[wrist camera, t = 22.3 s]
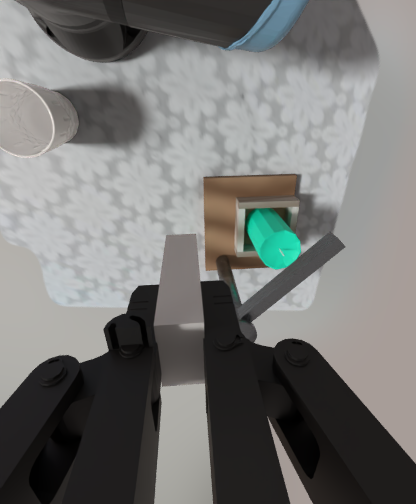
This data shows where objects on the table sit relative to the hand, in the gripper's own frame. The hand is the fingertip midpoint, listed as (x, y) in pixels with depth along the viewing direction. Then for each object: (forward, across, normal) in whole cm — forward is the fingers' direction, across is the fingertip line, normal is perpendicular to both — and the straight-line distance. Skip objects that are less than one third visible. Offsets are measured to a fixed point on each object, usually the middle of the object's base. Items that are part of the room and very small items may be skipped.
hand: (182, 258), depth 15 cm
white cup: (+33, -18, +6) cm, 38 cm away
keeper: (+31, +11, -13) cm, 35 cm away
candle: (+31, +13, -11) cm, 36 cm away
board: (+32, +10, -12) cm, 36 cm away
